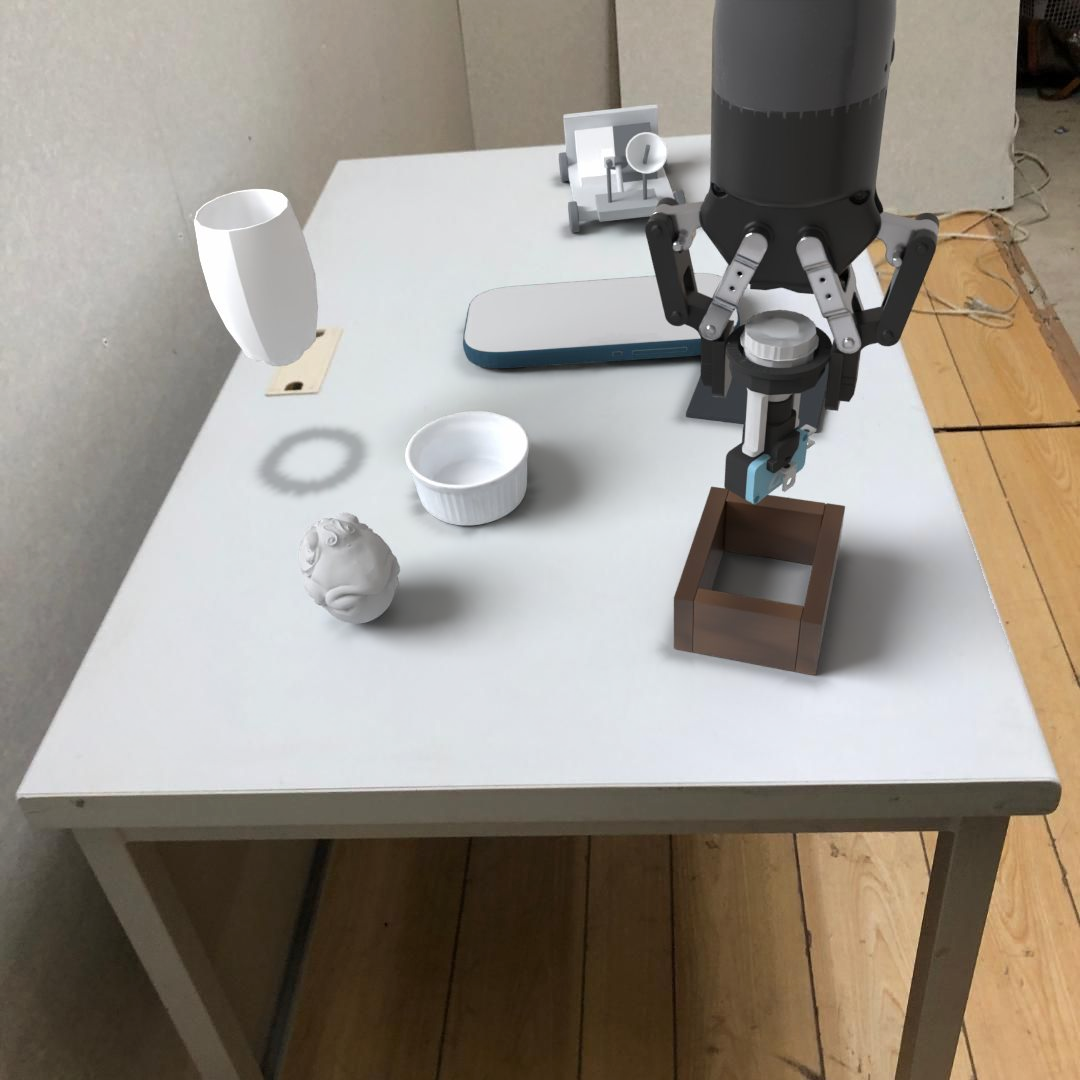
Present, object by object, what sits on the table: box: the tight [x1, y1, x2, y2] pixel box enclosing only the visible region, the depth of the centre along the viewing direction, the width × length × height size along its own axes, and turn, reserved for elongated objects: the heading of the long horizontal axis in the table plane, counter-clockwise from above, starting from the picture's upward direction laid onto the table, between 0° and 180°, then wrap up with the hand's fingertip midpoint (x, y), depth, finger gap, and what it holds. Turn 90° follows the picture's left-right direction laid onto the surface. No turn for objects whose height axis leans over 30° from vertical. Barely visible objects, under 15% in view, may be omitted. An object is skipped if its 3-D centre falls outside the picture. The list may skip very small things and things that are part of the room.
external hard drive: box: [462, 272, 741, 369], centre depth 92 cm, size 24×12×2 cm, turn 88°
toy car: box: [558, 103, 687, 233], centre depth 108 cm, size 18×10×12 cm
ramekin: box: [404, 410, 530, 526], centre depth 77 cm, size 9×9×4 cm
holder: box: [673, 486, 846, 676], centre depth 66 cm, size 9×11×4 cm
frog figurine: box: [298, 512, 401, 624], centre depth 68 cm, size 6×7×7 cm
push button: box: [723, 309, 833, 505], centre depth 58 cm, size 7×5×10 cm
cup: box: [193, 188, 319, 367], centre depth 76 cm, size 7×7×21 cm
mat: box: [685, 363, 829, 434], centre depth 85 cm, size 10×10×1 cm
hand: (777, 394), depth 57 cm, fingers closed on push button, 5 cm apart
